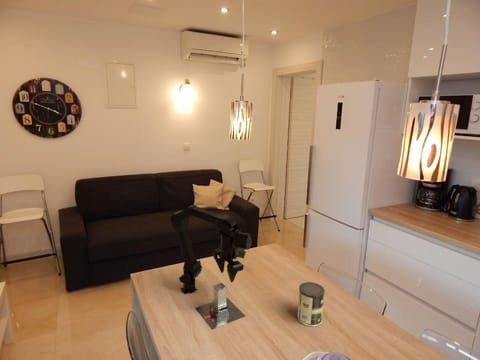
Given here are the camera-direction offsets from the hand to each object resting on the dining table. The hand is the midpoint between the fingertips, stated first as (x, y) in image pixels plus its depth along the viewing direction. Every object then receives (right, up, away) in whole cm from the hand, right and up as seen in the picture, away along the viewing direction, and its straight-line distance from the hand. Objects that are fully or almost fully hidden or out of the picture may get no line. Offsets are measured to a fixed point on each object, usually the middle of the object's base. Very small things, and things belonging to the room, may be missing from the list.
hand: (227, 277), depth 139 cm
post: (-3, -10, -7) cm, 12 cm away
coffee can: (+35, -15, -8) cm, 39 cm away
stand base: (-3, -14, -6) cm, 15 cm away
